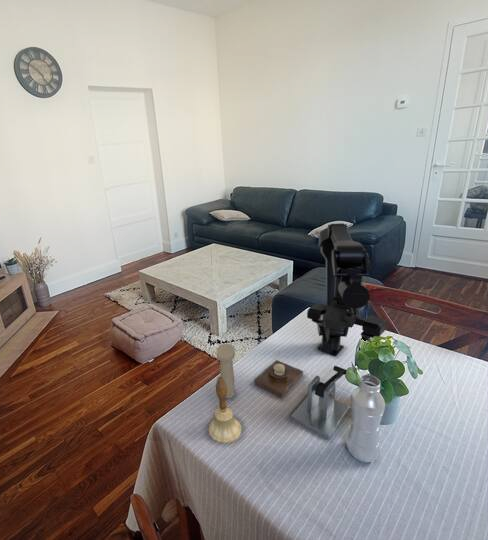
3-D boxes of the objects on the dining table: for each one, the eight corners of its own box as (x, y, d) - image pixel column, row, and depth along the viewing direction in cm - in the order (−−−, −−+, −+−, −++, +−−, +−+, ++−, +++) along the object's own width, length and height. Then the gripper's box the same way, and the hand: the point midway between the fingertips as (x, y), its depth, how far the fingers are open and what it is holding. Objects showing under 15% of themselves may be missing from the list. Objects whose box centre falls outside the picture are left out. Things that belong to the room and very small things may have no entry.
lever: (334, 370, 96) (335, 363, 95) (352, 378, 93) (353, 370, 92) (309, 391, 84) (310, 383, 84) (328, 400, 81) (329, 391, 80)
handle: (237, 387, 98) (234, 343, 93) (236, 403, 92) (234, 357, 87) (220, 387, 99) (217, 343, 94) (219, 403, 93) (215, 357, 88)
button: (277, 367, 100) (277, 362, 100) (286, 371, 98) (286, 366, 98) (271, 372, 98) (271, 367, 98) (281, 377, 96) (281, 372, 96)
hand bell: (232, 448, 79) (228, 394, 73) (202, 435, 83) (196, 382, 78) (247, 423, 85) (244, 372, 80) (218, 412, 90) (214, 362, 84)
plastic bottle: (365, 472, 71) (374, 396, 64) (339, 449, 76) (345, 377, 69) (385, 458, 73) (396, 384, 66) (358, 436, 79) (366, 366, 72)
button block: (276, 364, 106) (276, 355, 105) (303, 376, 100) (303, 366, 99) (254, 385, 99) (254, 375, 97) (282, 398, 93) (282, 388, 91)
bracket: (312, 393, 94) (313, 364, 90) (349, 410, 87) (352, 379, 83) (290, 419, 86) (291, 388, 82) (329, 440, 79) (331, 407, 75)
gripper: (297, 294, 87) (296, 348, 91) (374, 311, 74) (369, 373, 79) (317, 283, 94) (315, 333, 99) (390, 297, 82) (384, 354, 86)
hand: (343, 347), depth 90 cm, fingers open, 9 cm apart
